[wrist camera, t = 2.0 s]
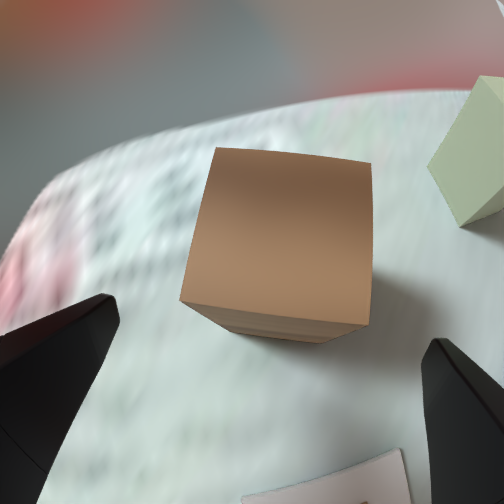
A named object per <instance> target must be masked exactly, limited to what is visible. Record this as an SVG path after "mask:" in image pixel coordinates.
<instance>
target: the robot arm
mask: <svg viewBox="0 0 504 504" xmlns="http://www.w3.org/2000/svg"><path fill="white" fill-rule="evenodd" d="M119 324H120V317H119V312H118V308H117V304H116V299H115V297H114V296H112V295H109V294H104V293H101V294H98V295H96V296H93V297H91V298H88V299H86V300H84V301H81V302H79V303H76V304H74V305H72V306H69V307H67V308H65V309H62V310H60V311H58V312H55V313H53V314H50V315H48V316H46V317H43V318H41V319H39V320H36V321H34V322H32V323H29V324H27V325H25V326H23V327H20V328H18V329H16V330H13V331H11V332H9V333H6V334H5V335H2V336H0V504H36V503H37V501H38V498H39V496H40V493H41V491H42V489H43V486H44V484H45V481H46V479H47V477H48V474H49V472H50V470H51V467H52V465H53V463H54V461H55V458H56V456H57V454H58V452H59V450H60V447H61V445H62V443H63V441H64V439H65V437H66V435H67V433H68V431H69V429H70V427H71V424H72V422H73V420H74V418H75V416H76V414H77V412H78V410H79V408H80V406H81V405H82V403H83V401H84V399H85V397H86V395H87V393H88V391H89V389H90V387H91V385H92V383H93V382H94V380H95V378H96V376H97V374H98V372H99V370H100V368H101V366H102V364H103V362H104V360H105V357H106V355H107V352H108V350H109V348H110V345H111V343H112V341H113V338H114V336H115V334H116V331H117V329H118V327H119ZM421 372H422V386H423V405H424V417H425V425H426V433H427V441H428V451H429V462H430V476H431V496H432V504H504V389H503V388H502V387H501V386H500V385H499V384H498V383H497V382H496V381H495V380H494V379H493V378H492V377H490V376H489V375H488V374H487V373H486V372H485V371H484V370H483V369H482V368H480V367H479V366H478V365H477V364H476V363H475V362H474V361H473V360H471V359H470V358H469V357H468V356H467V355H466V354H465V353H463V352H462V351H461V350H460V349H459V348H458V347H457V346H455V345H454V344H453V343H452V342H451V341H450V340H448V339H447V338H434V339H433V340H432V341H431V343H430V345H429V347H428V349H427V351H426V353H425V355H424V357H423V359H422V363H421Z"/></svg>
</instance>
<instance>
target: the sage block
mask: <svg viewBox="0 0 504 504" xmlns="http://www.w3.org/2000/svg"><path fill="white" fill-rule="evenodd" d="M427 168H428V170H429V171H430V173H431V175H432V176H433V178H434V180H435V182H436V183H437V185H438V187H439V189H440V191H441V193H442V194H443V196H444V198H445V200H446V202H447V204H448V206H449V208H450V210H451V212H452V214H453V216H454V218H455V220H456V222H457V224H458V226H459V227H461V226H464V225H467V224H469V223H472V222H474V221H477V220H479V219H482V218H484V217H487V216H489V215H491V214H494V213H496V212H499V211H501V210H502V209H503V208H504V78H503V77H491V76H479V78H478V80H477V82H476V84H475V86H474V87H473V89H472V91H471V93H470V95H469V97H468V99H467V100H466V102H465V104H464V106H463V108H462V109H461V111H460V113H459V115H458V116H457V118H456V120H455V122H454V123H453V125H452V127H451V128H450V130H449V132H448V133H447V135H446V137H445V138H444V140H443V142H442V143H441V145H440V146H439V148H438V150H437V151H436V153H435V154H434V156H433V158H432V159H431V161H430V162H429V164H428V165H427Z"/></svg>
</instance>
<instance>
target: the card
mask: <svg viewBox="0 0 504 504" xmlns="http://www.w3.org/2000/svg"><path fill="white" fill-rule="evenodd" d="M241 502H242V504H411V499H410V494H409V489H408V484H407V479H406V474H405V470H404V465H403V461H402V456H401V452H400V449H398V448H394V449H392V450H390V451H388V452H386V453H383V454H381V455H379V456H377V457H374V458H372V459H369V460H367V461H365V462H362V463H360V464H357V465H354V466H352V467H349V468H346V469H344V470H341V471H338V472H335V473H332V474H329V475H326V476H323V477H320V478H317V479H314V480H310V481H307V482H303V483H300V484H296V485H292V486H289V487H285V488H281V489H276V490H272V491H268V492H263V493H258V494H253V495H248V496H243V497H242V498H241Z"/></svg>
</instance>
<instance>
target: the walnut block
mask: <svg viewBox="0 0 504 504" xmlns="http://www.w3.org/2000/svg"><path fill="white" fill-rule="evenodd" d="M372 260H373V198H372V173H371V163H366V162H359V161H353V160H346V159H339V158H332V157H324V156H316V155H307V154H298V153H289V152H278V151H266V150H253V149H238V148H219V147H216V149H215V152H214V156H213V160H212V163H211V167H210V171H209V175H208V178H207V182H206V186H205V190H204V194H203V198H202V202H201V206H200V210H199V214H198V218H197V222H196V226H195V231H194V235H193V239H192V243H191V248H190V252H189V257H188V261H187V266H186V270H185V275H184V280H183V284H182V289H181V294H180V299H179V301H181V302H182V303H184V304H185V305H187V306H189V307H190V308H192V309H193V310H195V311H197V312H198V313H200V314H201V315H203V316H205V317H206V318H208V319H210V320H211V321H213V322H215V323H216V324H218V325H220V326H221V327H223V328H225V329H226V330H228V331H230V332H236V333H242V334H249V335H256V336H263V337H270V338H278V339H286V340H294V341H302V342H311V343H324V342H327V341H329V340H332V339H335V338H337V337H340V336H343V335H345V334H348V333H350V332H353V331H356V330H358V329H361V328H363V327H366V326H368V325H369V316H370V303H371V285H372Z"/></svg>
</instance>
